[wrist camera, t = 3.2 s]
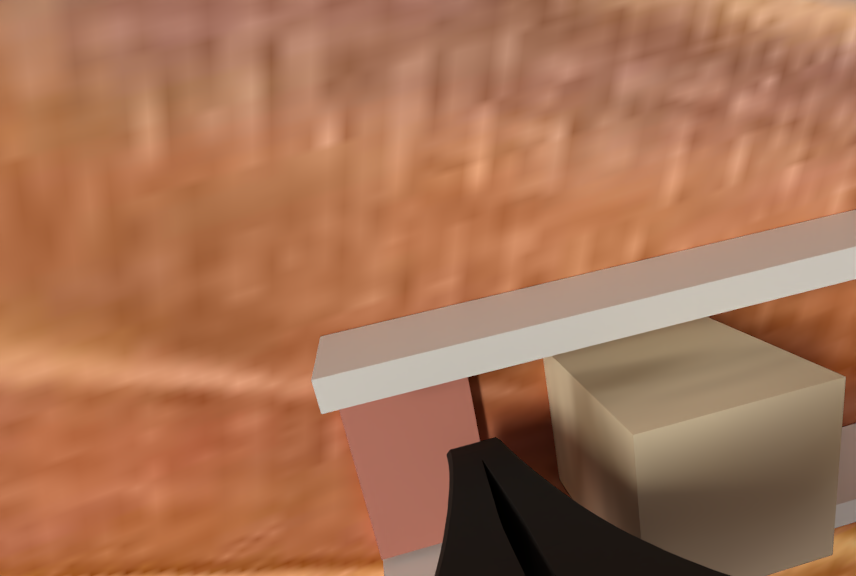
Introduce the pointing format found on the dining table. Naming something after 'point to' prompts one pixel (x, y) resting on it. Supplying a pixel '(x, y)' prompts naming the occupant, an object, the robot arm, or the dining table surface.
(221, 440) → the dining table surface
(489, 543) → the robot arm
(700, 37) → the dining table surface
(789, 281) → the channel
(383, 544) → the pad
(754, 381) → the block
